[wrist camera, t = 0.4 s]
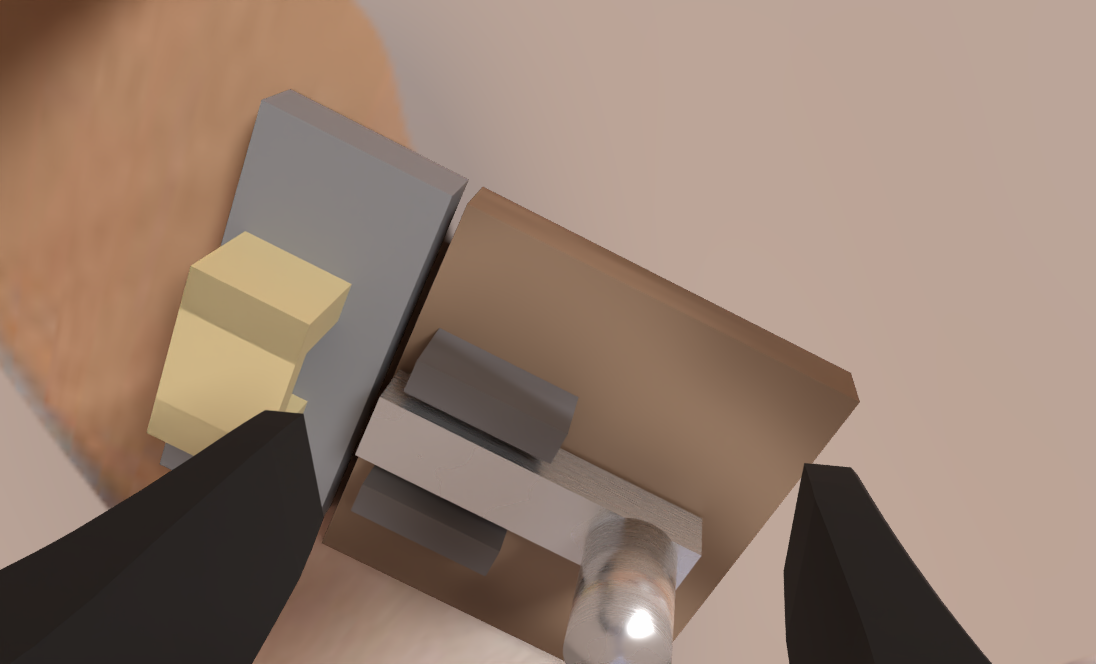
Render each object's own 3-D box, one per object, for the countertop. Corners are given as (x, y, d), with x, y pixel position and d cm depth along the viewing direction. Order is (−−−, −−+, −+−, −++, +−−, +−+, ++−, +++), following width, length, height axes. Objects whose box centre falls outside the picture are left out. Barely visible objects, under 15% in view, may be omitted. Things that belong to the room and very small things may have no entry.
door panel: (636, 656, 27) (626, 744, 24) (341, 512, 27) (295, 583, 24) (850, 373, 22) (871, 442, 19) (482, 186, 21) (446, 227, 18)
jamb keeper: (329, 507, 27) (271, 595, 23) (187, 437, 27) (105, 515, 23) (468, 179, 21) (419, 229, 18) (290, 88, 21) (204, 120, 18)
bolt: (663, 572, 23) (651, 718, 19) (373, 430, 23) (294, 545, 19) (705, 513, 22) (703, 653, 18) (402, 363, 22) (325, 468, 18)
